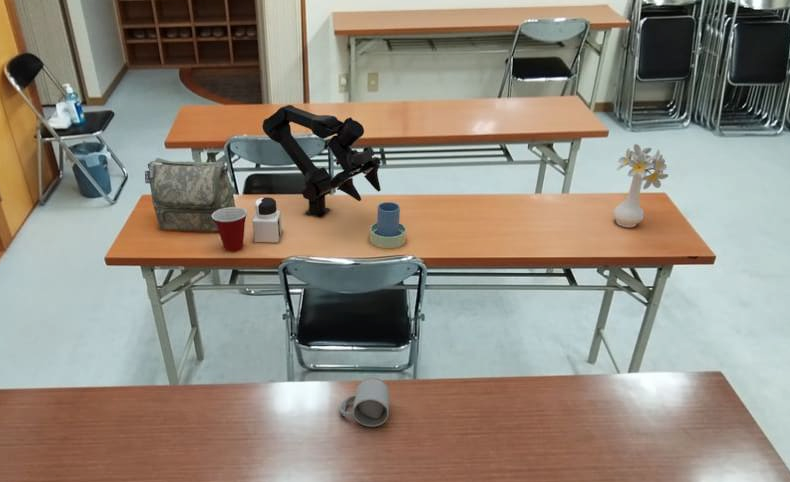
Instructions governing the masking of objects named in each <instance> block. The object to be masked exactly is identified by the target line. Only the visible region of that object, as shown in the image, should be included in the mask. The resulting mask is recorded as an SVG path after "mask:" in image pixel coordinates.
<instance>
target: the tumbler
mask: <svg viewBox="0 0 790 482" xmlns="http://www.w3.org/2000/svg"><path fill="white" fill-rule="evenodd" d="M400 213H401V207H400V204H398V203H396V202H393V201H392V202H391V201H385V202H384V201H383V202H381V203H379V204H378V205H377V219H376V220H377V221H376V222H377V235H379V236H383V237H394V236H399V223H400V216H401V215H400Z"/></svg>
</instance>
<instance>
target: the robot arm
mask: <svg viewBox="0 0 790 482" xmlns="http://www.w3.org/2000/svg"><path fill="white" fill-rule="evenodd" d="M290 123H293V124H295V125H298V126H300V127H304V128H307V129H308V130H310V131H311V132H312V134H313V135H315V136H316V137H318V138H319V139H321V140H323V139H325V140H324V146H323V149H324V150H328V149H329V150H330V151H331V153H332V154H333V156H334V157H335V160H336V161H335V164H336V166H340V167H341V169H342V171H340V172H338V173H336V174H335V175H334V176H333V177H332V175H331V174H330V173H329V172H328V171H327V169H326V167H324V166H323V167H317V166H316V165H315V163H314V162H313V161H312V160H311V158H310V157H309V156H308V154H307V153H306V152H305V150H304V149H303V148H302V146H301V145H300V144H299V143H298V141H297V140H296V138H295V137H294V136H293V134H292V128H291V124H290ZM262 130H263V132H264V134H265V135H266V136H267V137H268V138H269V139H270V140H271V141H274V142H275V143H278V144H279V145H280V146H281V147H282V149H283V150H284V151H285V153H286V154H287V155H288V157H289V158H290V160H292V162H293V163H294V164H295V166H296V168H297V169H298V170H299V171H300V173H301V174H302V175H303V177H304V186H305V188H304V189H303V190H302V191H301V194H302V197H303V199H305V200H307V201H308V209H307V210H306V211H305V212H304V213H305V215H306V216H307V215H308V216H313V217H318V218H323V217H324V216H325V215H326V214H327V213H329V211H330V208H329V207H327V205H326V196H327V195H330V194H331V192H332V190H335V189H336V190H337V191H341V192H343V193H345V194H347V195H348V196H350V197H351V198H353V199H355V200H356V201H358V202H361V201H362V197H361V195H360V193H359V192H358V190H357V188H356V186H355V185H354V179H353V177H356V176H358V175H360V174H364V176H363V177H364V178H365V179H366V180H367V182H368V183H369V184H370V185H371V186H372V187H373V189H375V190H376V191H377V192H380V191H381V190H382V189H381V185H380V180H379V175H378V171H379V168H380V167H381V166H380V165H381V164H382V162H381V159H380V158H379V157H377V156H375V151H374V148H373V147H372V146H371V145H368V146H365V147H363V149H362V151H360V152H359V151H358V150H357V149H352V148H353V147H352V146H353V145H354V144H355V143H357V141H358V140H359V139H361V138H362V137H363V135H364V134H365V128H364V126H363V125H362V123H360V122H359V121H357V120H354V119H353V117H352V116H351V117H348V118H346V119H345V120H344V121H342V120H340V119H338V118H337V117H336V116H335V115H330V114H321V115H320V114H315V113H312V112H310V111H306V110H303V109H301V108H298V107H295V106H294V105H293V104H286V105H284V106H281V107H279V108H278V109H277V110H276V112H274V113H273V114H271V115H270V116H269V117H267V118H264V119H263V121H262ZM329 137H331V138H329ZM326 138H328V139H326Z"/></svg>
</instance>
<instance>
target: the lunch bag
mask: <svg viewBox="0 0 790 482" xmlns="http://www.w3.org/2000/svg"><path fill="white" fill-rule="evenodd" d="M147 168H148V170H145V171H144V184H149V186H150V194H151V201H152V205H153V209H154V213H155V217H156V221H157V224H158V225H157V226H158V228H159V230H163V231H178V232H206V233H207V232H209V233H210V232H215V233H216V232H219V231H218V228H217V226H216V223H215V221H214V219H213V218H212V214H213V213H214V212H215V211H217V210H220V209H223V208H229V207H236V203H235V195H234V189H233V184H232V183H231V179H230V177H229V173H228V169H227V168H228V165H225V162H224V161H210V162H209V161H207V162H204V161H203V162H202V161H201V162H200V161H190V160H189V161H181V160H180V161H172V160H167V159H163V158H160V157H157V158H156V159H154V160H151V161H150V162H148V163H147Z"/></svg>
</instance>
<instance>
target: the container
mask: <svg viewBox="0 0 790 482" xmlns="http://www.w3.org/2000/svg"><path fill="white" fill-rule="evenodd" d="M254 207H255V214H254V216H253V218H252V231H253V232H252V233H253V240H254V242H255V243H272V244H273V243H277V244H278V243H279V241H280V238H281V235H282V232H283V227H282V226H283V225H282V213H281V210H278V209H277V201H276V199H275V198H274V197H267V196H266V197H265V196H264V197H259V198H258V199H256V201H254Z"/></svg>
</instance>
